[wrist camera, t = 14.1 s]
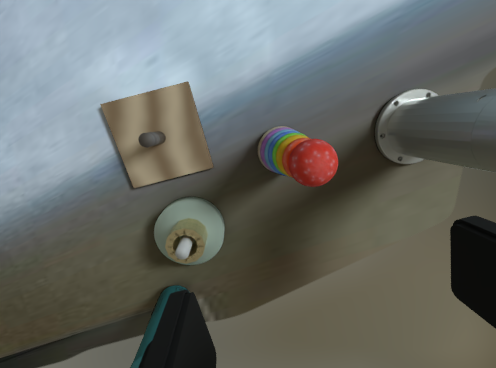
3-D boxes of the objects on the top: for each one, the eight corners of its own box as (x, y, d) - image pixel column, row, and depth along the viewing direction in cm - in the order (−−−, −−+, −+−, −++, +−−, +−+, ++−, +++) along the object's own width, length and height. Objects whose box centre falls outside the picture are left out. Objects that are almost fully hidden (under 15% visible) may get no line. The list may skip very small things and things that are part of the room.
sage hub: (214, 189, 41) (209, 206, 33) (231, 246, 45) (231, 276, 36) (149, 206, 41) (127, 228, 33) (171, 262, 45) (156, 296, 36)
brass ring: (210, 223, 40) (208, 233, 36) (202, 253, 41) (199, 266, 37) (176, 214, 39) (169, 224, 35) (169, 245, 40) (162, 258, 37)
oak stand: (188, 82, 37) (178, 73, 30) (213, 166, 40) (209, 175, 34) (103, 104, 37) (74, 100, 30) (136, 186, 40) (116, 199, 34)
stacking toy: (297, 174, 42) (347, 213, 24) (254, 168, 41) (270, 204, 23) (306, 129, 40) (367, 135, 22) (261, 122, 39) (285, 123, 21)
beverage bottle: (155, 287, 46) (98, 406, 27) (185, 273, 45) (149, 385, 26) (172, 311, 48) (130, 440, 28) (200, 298, 47) (178, 419, 28)
